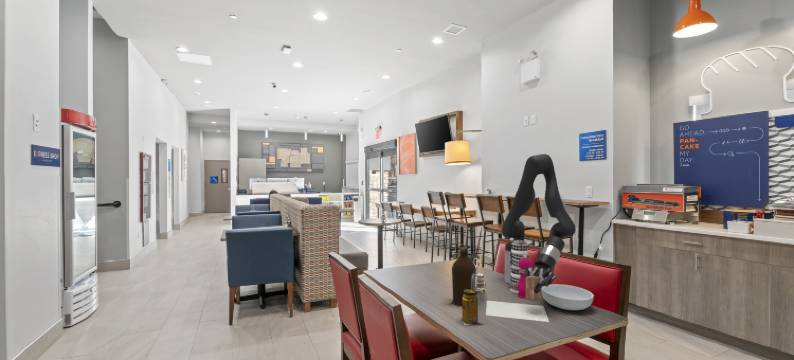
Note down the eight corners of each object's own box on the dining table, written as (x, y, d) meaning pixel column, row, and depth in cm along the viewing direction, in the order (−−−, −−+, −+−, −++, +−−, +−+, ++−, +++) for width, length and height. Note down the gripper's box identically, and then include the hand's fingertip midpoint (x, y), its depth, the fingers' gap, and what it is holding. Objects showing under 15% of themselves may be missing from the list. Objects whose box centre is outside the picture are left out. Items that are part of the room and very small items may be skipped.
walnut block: (525, 298, 151) (525, 277, 151) (532, 296, 154) (532, 275, 154) (533, 301, 148) (533, 279, 148) (540, 299, 151) (541, 277, 151)
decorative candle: (507, 287, 186) (507, 239, 186) (525, 287, 186) (526, 239, 185) (512, 293, 177) (512, 242, 177) (531, 293, 177) (531, 242, 176)
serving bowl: (551, 315, 149) (552, 298, 149) (534, 298, 170) (534, 283, 170) (603, 316, 149) (603, 299, 149) (579, 299, 170) (579, 284, 170)
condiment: (459, 318, 145) (459, 288, 145) (479, 317, 146) (480, 288, 146) (464, 325, 138) (464, 294, 138) (485, 325, 139) (486, 293, 139)
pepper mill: (515, 298, 170) (515, 255, 169) (517, 293, 176) (518, 252, 176) (531, 300, 166) (532, 257, 166) (533, 296, 173) (534, 254, 172)
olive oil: (449, 306, 159) (450, 249, 158) (453, 298, 169) (454, 245, 168) (474, 309, 155) (475, 251, 155) (476, 301, 165) (477, 246, 165)
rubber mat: (487, 301, 165) (487, 300, 165) (543, 306, 159) (543, 306, 159) (485, 316, 148) (485, 315, 148) (549, 322, 141) (549, 321, 141)
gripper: (530, 250, 161) (512, 281, 154) (560, 255, 149) (542, 290, 143) (537, 260, 164) (520, 291, 157) (567, 266, 152) (550, 301, 146)
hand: (530, 290), depth 150 cm, fingers closed on walnut block, 4 cm apart
